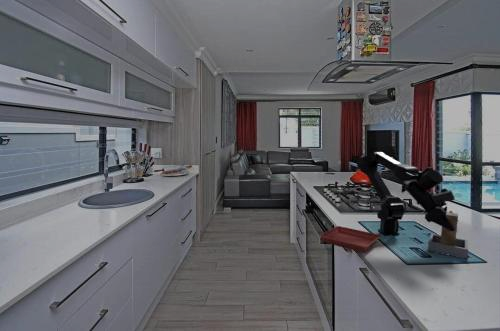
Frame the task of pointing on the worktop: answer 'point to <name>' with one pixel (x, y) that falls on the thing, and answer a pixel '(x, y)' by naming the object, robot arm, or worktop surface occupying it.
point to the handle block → (447, 235)
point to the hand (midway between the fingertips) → (453, 228)
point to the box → (448, 246)
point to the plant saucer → (350, 238)
